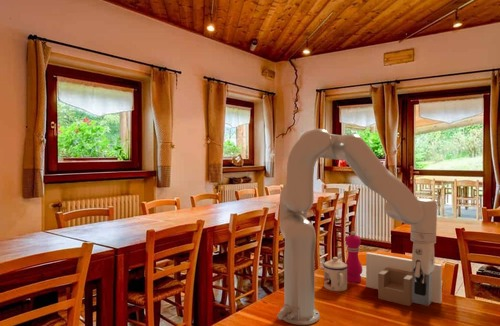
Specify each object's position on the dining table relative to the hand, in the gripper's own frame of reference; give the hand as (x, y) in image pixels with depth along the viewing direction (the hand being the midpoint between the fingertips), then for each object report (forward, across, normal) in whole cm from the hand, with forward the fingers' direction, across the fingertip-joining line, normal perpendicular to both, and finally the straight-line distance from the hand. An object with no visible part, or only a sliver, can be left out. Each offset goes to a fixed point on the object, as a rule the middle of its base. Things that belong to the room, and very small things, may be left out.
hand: (421, 292), depth 119 cm
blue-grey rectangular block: (+3, 0, 0) cm, 3 cm away
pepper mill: (+7, +15, +29) cm, 34 cm away
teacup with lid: (+7, +2, +30) cm, 31 cm away
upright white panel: (+6, +7, +9) cm, 14 cm away
